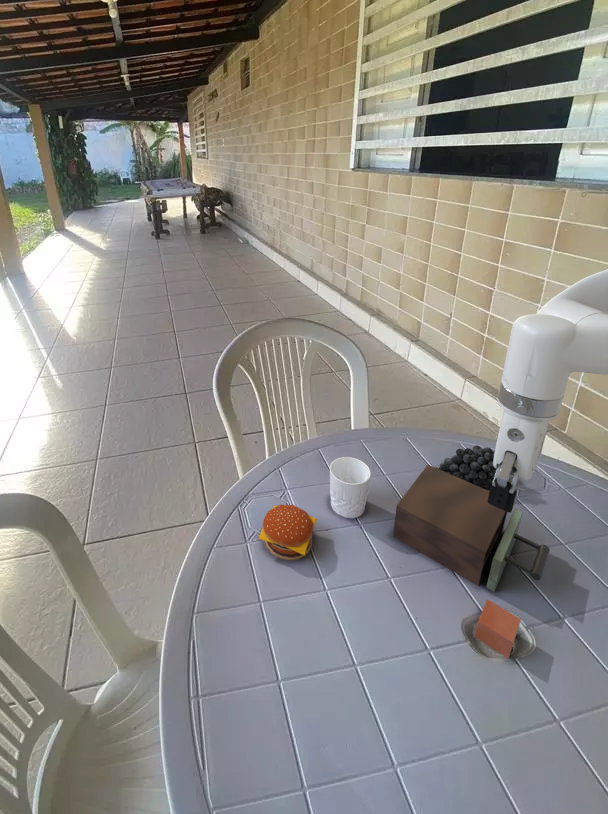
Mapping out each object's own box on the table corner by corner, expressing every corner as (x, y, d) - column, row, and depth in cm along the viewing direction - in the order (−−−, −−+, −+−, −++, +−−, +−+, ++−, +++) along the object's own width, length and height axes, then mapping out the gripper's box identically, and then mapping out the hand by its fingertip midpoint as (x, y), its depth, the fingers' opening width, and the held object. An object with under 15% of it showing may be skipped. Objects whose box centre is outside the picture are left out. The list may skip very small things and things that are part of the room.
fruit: (438, 454, 88) (514, 453, 87) (423, 441, 97) (493, 439, 95) (439, 494, 89) (515, 494, 87) (424, 478, 97) (494, 477, 95)
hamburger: (317, 530, 83) (318, 504, 81) (305, 572, 75) (306, 545, 73) (271, 516, 87) (271, 491, 85) (256, 555, 79) (255, 528, 76)
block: (515, 638, 63) (521, 618, 62) (507, 662, 60) (513, 642, 59) (482, 618, 66) (487, 599, 65) (473, 640, 63) (478, 620, 62)
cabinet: (501, 535, 80) (510, 500, 77) (477, 589, 70) (486, 552, 67) (422, 496, 90) (427, 464, 87) (392, 540, 80) (396, 505, 77)
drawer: (548, 556, 74) (556, 527, 72) (530, 612, 66) (539, 581, 63) (438, 503, 87) (442, 476, 84) (411, 544, 78) (415, 516, 76)
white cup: (340, 488, 93) (342, 451, 90) (374, 507, 88) (378, 468, 84) (320, 509, 88) (321, 471, 84) (354, 530, 83) (357, 490, 79)
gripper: (548, 436, 54) (522, 536, 60) (570, 382, 65) (546, 471, 71) (482, 414, 59) (464, 509, 65) (513, 368, 70) (495, 452, 76)
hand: (507, 489), depth 68 cm, fingers open, 9 cm apart
